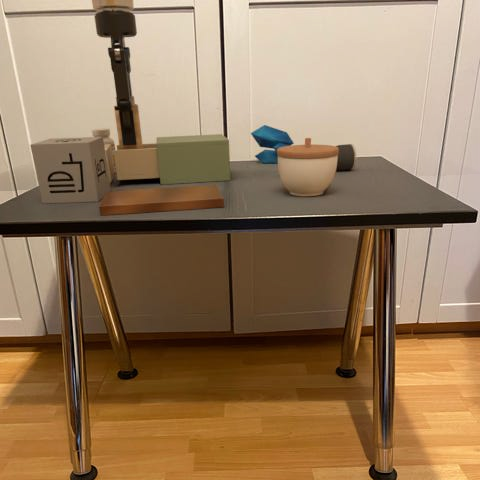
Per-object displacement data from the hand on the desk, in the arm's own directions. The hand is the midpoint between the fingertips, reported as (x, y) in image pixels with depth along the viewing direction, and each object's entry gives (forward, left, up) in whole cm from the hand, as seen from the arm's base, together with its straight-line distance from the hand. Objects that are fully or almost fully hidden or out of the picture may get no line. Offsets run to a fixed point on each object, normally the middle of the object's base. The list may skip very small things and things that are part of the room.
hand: (130, 143), depth 101 cm
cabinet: (+13, 0, -8) cm, 15 cm away
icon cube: (-10, -13, -8) cm, 19 cm away
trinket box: (+32, -23, -8) cm, 40 cm away
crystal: (+34, +15, -8) cm, 38 cm away
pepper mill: (0, 0, -6) cm, 6 cm away
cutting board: (+6, -24, -8) cm, 26 cm away
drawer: (-1, 0, -7) cm, 7 cm away
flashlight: (+41, -2, -8) cm, 42 cm away
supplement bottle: (-7, +14, -8) cm, 18 cm away
